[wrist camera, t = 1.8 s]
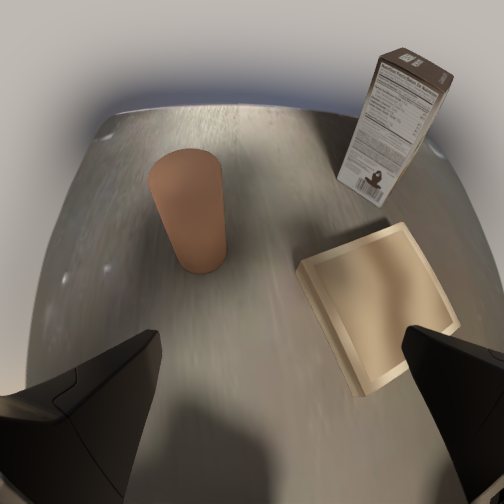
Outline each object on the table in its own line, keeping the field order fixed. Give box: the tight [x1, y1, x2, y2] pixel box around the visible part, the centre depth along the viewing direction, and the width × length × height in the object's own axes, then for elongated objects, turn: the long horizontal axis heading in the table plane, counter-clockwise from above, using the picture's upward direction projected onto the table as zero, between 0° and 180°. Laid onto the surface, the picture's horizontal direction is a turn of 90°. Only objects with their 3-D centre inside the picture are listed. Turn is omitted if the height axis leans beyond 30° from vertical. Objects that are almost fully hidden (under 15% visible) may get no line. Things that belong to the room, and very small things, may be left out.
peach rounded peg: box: [148, 149, 227, 274], centre depth 20 cm, size 5×5×10 cm
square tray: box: [295, 222, 461, 397], centre depth 22 cm, size 12×12×3 cm
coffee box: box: [337, 48, 454, 208], centre depth 24 cm, size 9×6×16 cm
